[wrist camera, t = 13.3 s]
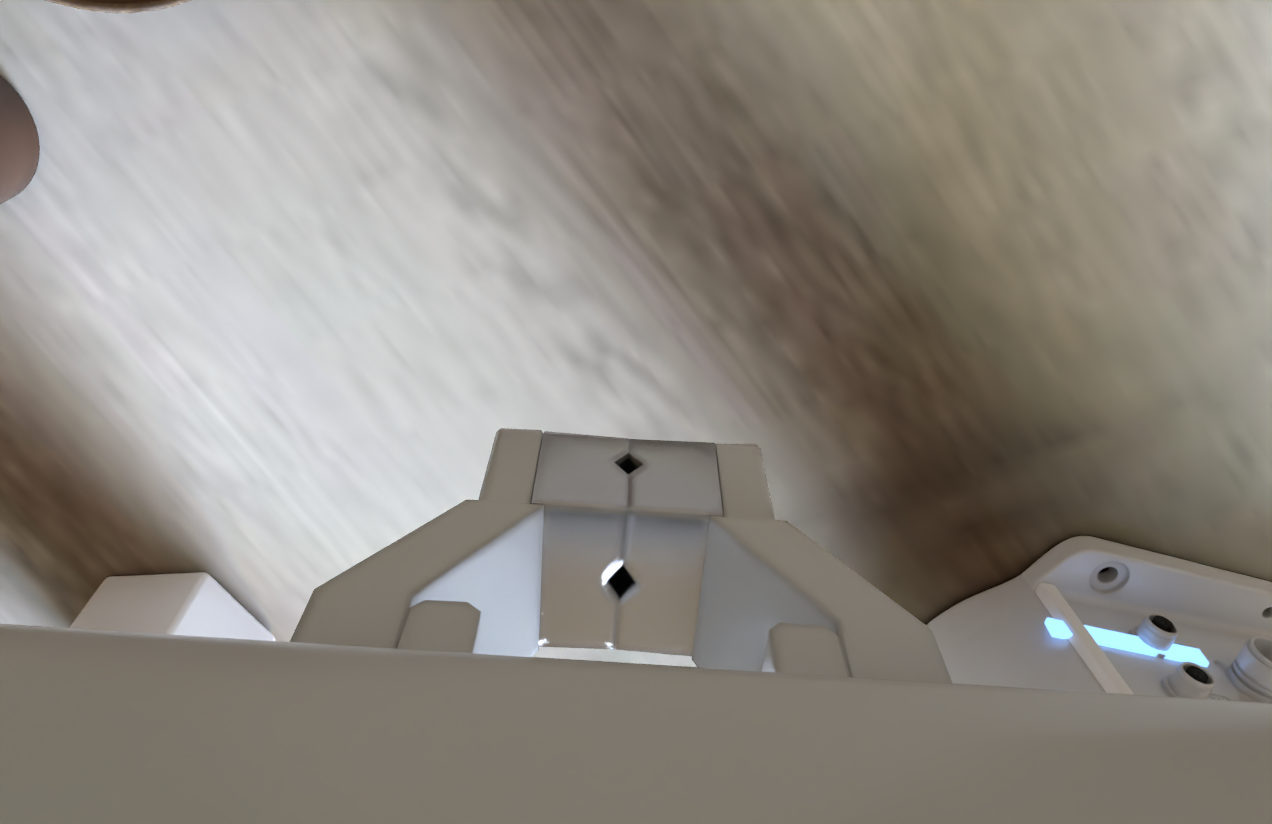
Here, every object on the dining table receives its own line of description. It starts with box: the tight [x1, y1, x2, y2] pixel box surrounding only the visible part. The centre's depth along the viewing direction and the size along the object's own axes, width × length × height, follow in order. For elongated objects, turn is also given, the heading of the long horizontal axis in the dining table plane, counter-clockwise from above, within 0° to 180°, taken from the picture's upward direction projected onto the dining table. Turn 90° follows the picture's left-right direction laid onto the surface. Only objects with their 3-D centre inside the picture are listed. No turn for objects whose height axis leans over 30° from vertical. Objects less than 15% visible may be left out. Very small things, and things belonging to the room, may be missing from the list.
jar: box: [69, 572, 275, 641], centre depth 42 cm, size 9×8×12 cm
